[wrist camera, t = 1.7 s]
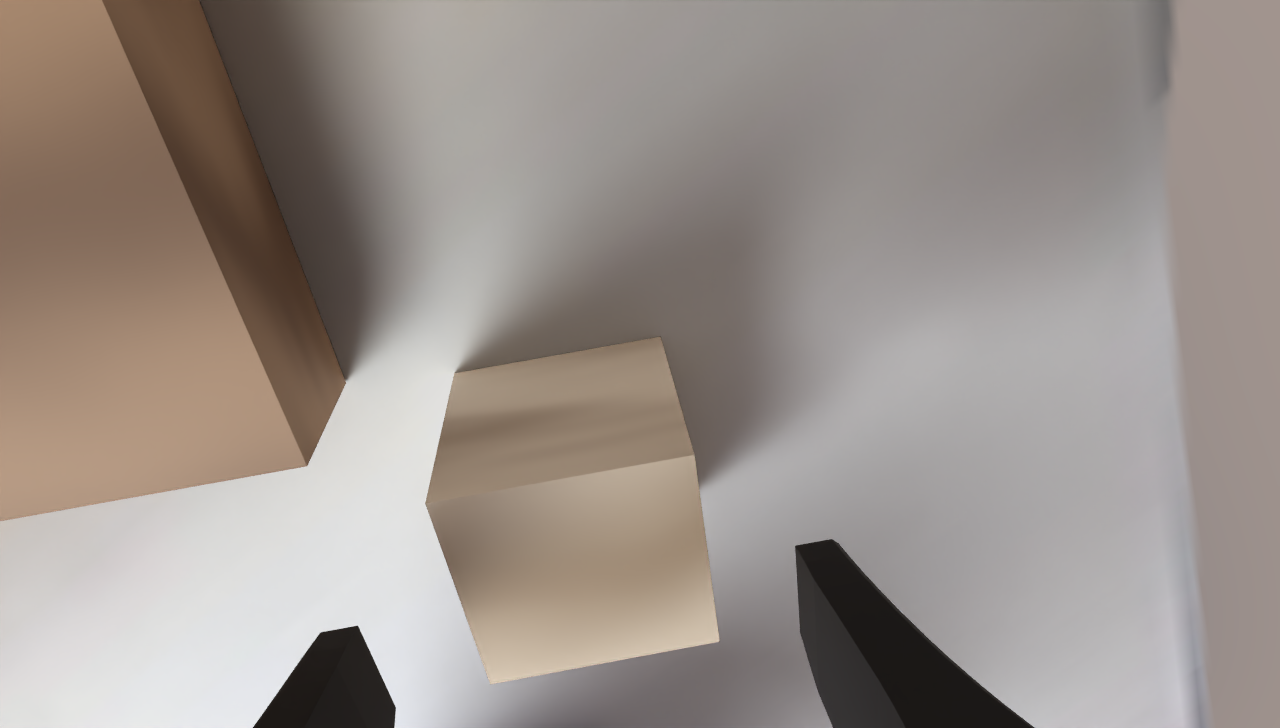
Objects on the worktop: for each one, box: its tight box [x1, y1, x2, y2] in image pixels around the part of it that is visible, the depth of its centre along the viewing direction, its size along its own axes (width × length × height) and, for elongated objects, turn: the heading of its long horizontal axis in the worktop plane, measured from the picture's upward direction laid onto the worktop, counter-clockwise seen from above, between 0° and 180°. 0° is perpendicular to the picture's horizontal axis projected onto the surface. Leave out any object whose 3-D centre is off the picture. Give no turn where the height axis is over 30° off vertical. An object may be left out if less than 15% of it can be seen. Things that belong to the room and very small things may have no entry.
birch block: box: [425, 337, 720, 684], centre depth 16 cm, size 4×4×4 cm
